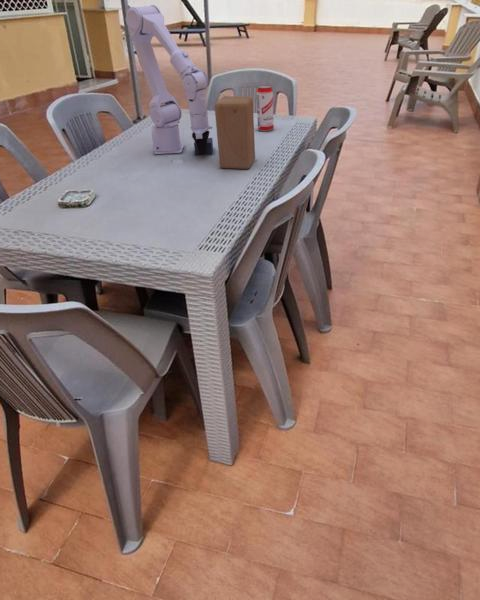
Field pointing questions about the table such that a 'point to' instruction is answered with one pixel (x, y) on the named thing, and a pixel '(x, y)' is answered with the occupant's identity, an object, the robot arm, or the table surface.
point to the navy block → (209, 147)
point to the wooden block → (235, 132)
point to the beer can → (265, 108)
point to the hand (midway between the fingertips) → (203, 154)
